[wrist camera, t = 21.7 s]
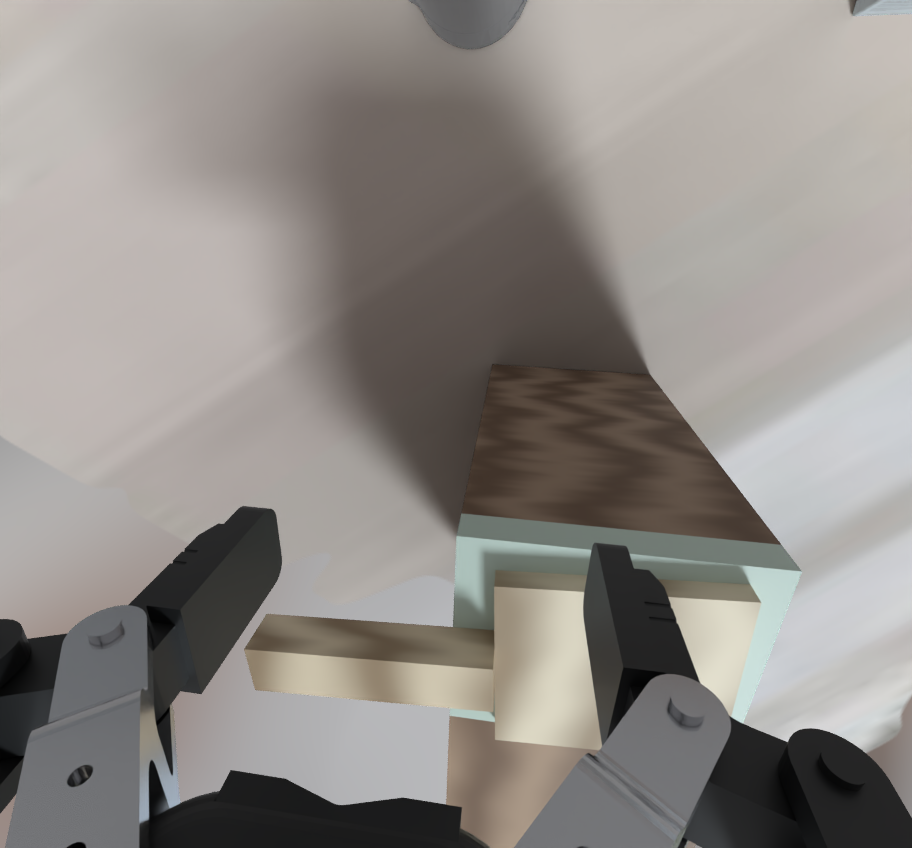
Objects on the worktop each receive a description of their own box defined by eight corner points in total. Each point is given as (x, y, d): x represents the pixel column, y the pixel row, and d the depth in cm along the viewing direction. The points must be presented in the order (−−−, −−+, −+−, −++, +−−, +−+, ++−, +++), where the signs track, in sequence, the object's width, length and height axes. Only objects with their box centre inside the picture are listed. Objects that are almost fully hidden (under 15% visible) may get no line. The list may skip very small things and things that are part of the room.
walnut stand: (479, 564, 62) (444, 841, 35) (492, 364, 52) (456, 536, 24) (610, 578, 60) (681, 881, 33) (650, 374, 50) (801, 571, 23)
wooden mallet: (287, 700, 31) (268, 739, 29) (252, 556, 27) (227, 588, 24) (711, 740, 28) (728, 787, 25) (750, 584, 23) (774, 624, 21)
